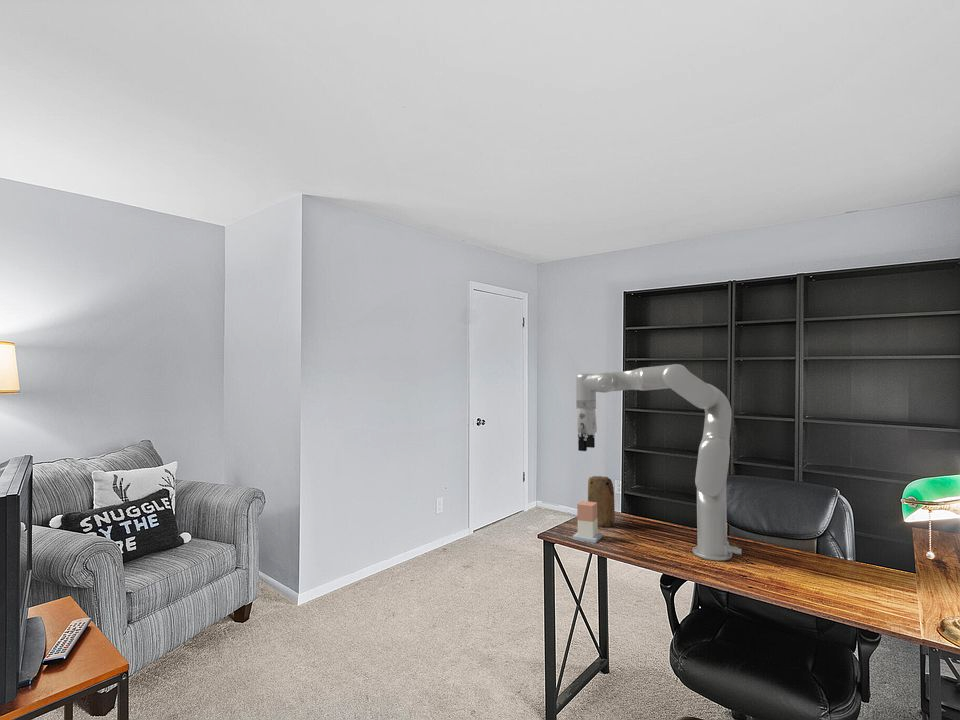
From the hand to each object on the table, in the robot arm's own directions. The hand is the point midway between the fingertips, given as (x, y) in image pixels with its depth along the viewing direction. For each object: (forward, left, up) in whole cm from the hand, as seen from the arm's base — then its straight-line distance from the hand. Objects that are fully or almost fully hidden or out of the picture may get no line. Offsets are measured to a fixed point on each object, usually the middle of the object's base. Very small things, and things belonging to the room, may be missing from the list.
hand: (586, 449), depth 201 cm
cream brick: (0, 0, -33) cm, 33 cm away
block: (0, -19, -34) cm, 39 cm away
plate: (0, 0, -34) cm, 34 cm away
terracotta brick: (0, 0, -27) cm, 27 cm away
